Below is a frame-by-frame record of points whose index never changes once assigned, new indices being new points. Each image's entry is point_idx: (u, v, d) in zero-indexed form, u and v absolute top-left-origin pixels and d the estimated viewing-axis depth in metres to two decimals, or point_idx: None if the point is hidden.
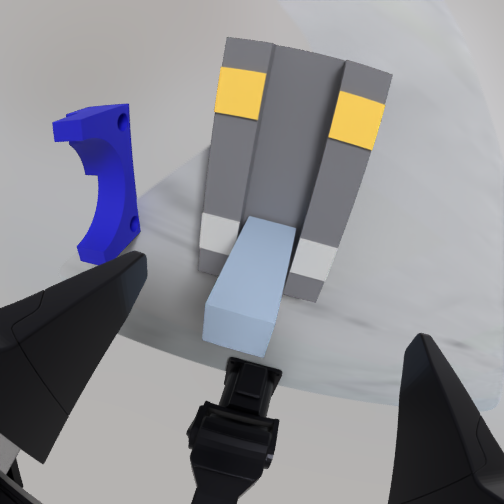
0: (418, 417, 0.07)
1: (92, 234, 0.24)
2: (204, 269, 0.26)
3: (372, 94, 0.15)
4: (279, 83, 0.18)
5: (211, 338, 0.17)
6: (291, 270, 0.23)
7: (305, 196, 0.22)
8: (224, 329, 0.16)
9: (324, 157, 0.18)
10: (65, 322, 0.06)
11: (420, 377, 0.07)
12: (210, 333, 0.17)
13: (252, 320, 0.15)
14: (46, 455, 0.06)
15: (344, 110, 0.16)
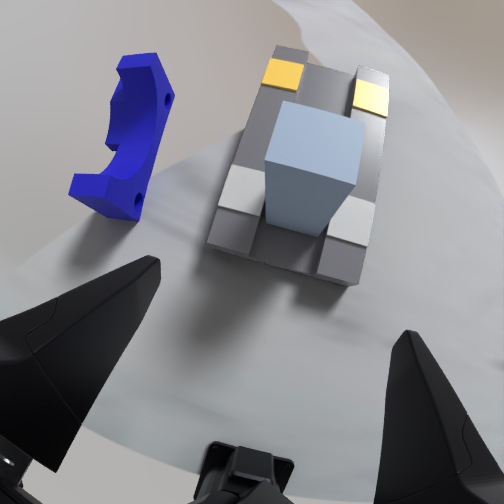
0: (403, 415, 0.07)
1: None
2: (215, 240, 0.20)
3: (378, 84, 0.21)
4: (309, 83, 0.23)
5: (280, 153, 0.12)
6: (328, 232, 0.19)
7: None
8: (302, 135, 0.12)
9: None
10: (81, 330, 0.06)
11: (406, 374, 0.07)
12: (279, 145, 0.12)
13: (339, 118, 0.12)
14: (59, 464, 0.06)
15: (361, 90, 0.21)
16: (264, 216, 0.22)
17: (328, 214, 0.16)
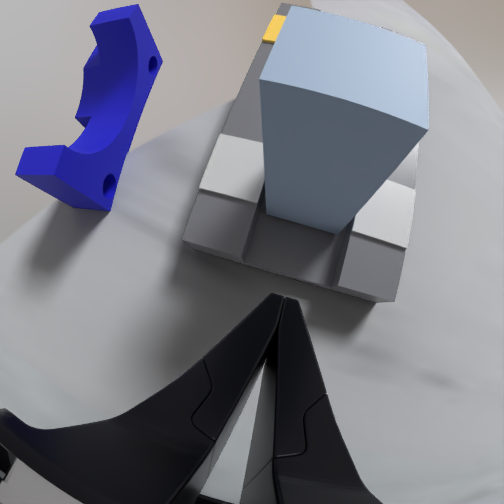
0: (265, 387, 0.07)
1: None
2: (194, 236, 0.14)
3: None
4: None
5: (288, 69, 0.06)
6: (355, 227, 0.13)
7: None
8: (327, 46, 0.06)
9: None
10: (243, 395, 0.06)
11: (273, 343, 0.08)
12: (288, 58, 0.06)
13: (384, 33, 0.06)
14: None
15: None
16: (264, 205, 0.16)
17: (363, 196, 0.10)
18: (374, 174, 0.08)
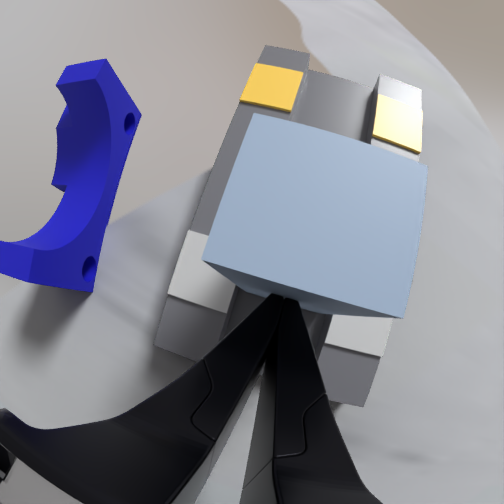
0: (265, 387, 0.07)
1: (26, 242, 0.13)
2: (165, 343, 0.13)
3: (408, 102, 0.15)
4: (310, 99, 0.17)
5: (237, 243, 0.05)
6: (327, 339, 0.13)
7: None
8: (293, 195, 0.05)
9: None
10: (243, 395, 0.06)
11: (273, 343, 0.08)
12: (238, 221, 0.05)
13: (374, 155, 0.05)
14: None
15: (385, 110, 0.15)
16: (237, 304, 0.15)
17: (337, 313, 0.09)
18: (346, 312, 0.08)
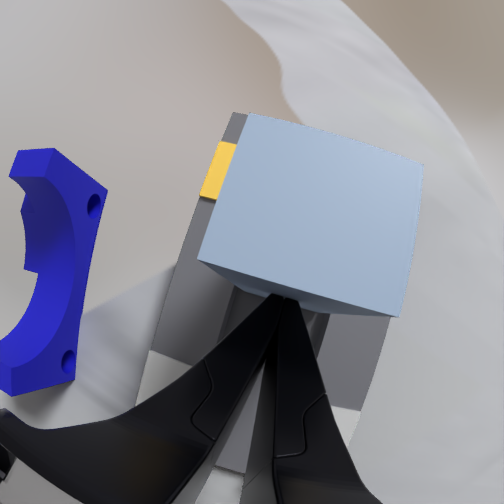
0: (265, 387, 0.07)
1: (5, 345, 0.12)
2: None
3: None
4: None
5: (232, 242, 0.05)
6: None
7: None
8: (288, 194, 0.05)
9: None
10: (243, 395, 0.06)
11: (273, 343, 0.08)
12: (234, 220, 0.05)
13: (370, 154, 0.05)
14: None
15: None
16: None
17: (335, 312, 0.09)
18: (343, 311, 0.08)
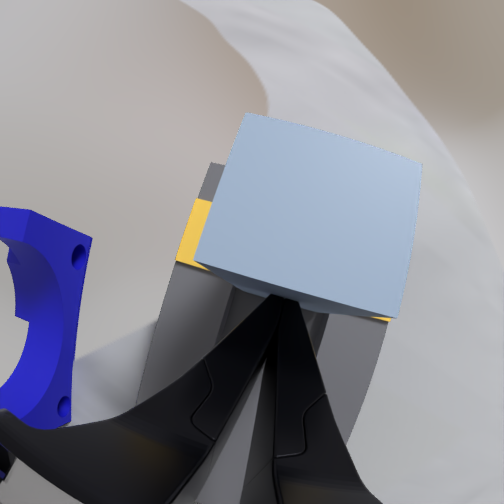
0: (265, 387, 0.07)
1: (3, 395, 0.12)
2: None
3: None
4: None
5: (229, 243, 0.05)
6: None
7: None
8: (285, 194, 0.05)
9: (324, 337, 0.13)
10: (243, 395, 0.06)
11: (273, 343, 0.08)
12: (230, 221, 0.05)
13: (367, 153, 0.05)
14: None
15: None
16: None
17: (333, 312, 0.09)
18: (341, 311, 0.07)
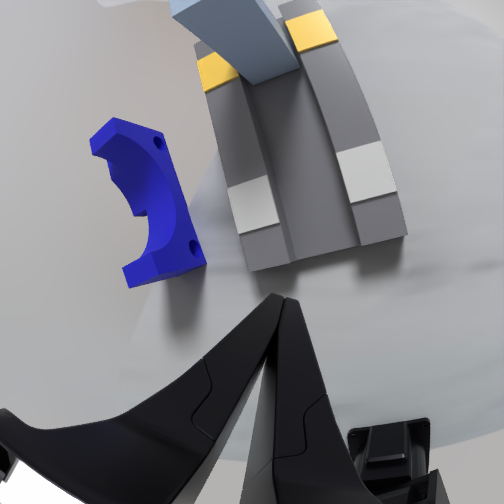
0: (265, 387, 0.07)
1: None
2: (255, 266, 0.20)
3: (308, 10, 0.16)
4: None
5: (179, 6, 0.11)
6: (351, 199, 0.17)
7: (322, 124, 0.19)
8: None
9: (307, 68, 0.17)
10: (243, 395, 0.06)
11: (273, 343, 0.08)
12: (176, 3, 0.11)
13: None
14: None
15: (296, 29, 0.17)
16: (287, 214, 0.20)
17: (269, 29, 0.14)
18: (255, 14, 0.12)
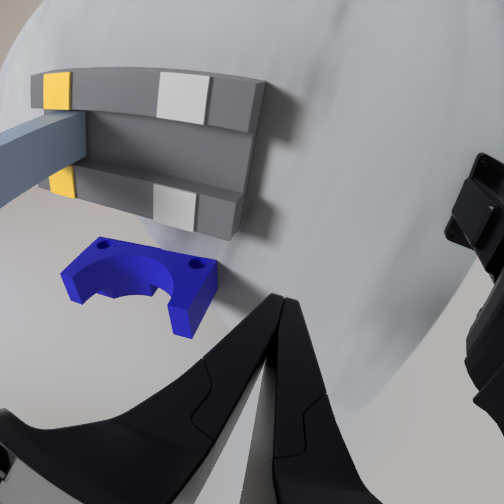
0: (265, 387, 0.07)
1: None
2: (226, 233, 0.20)
3: (41, 85, 0.16)
4: None
5: None
6: (200, 122, 0.16)
7: (137, 113, 0.18)
8: None
9: (83, 108, 0.17)
10: (243, 395, 0.06)
11: (273, 343, 0.08)
12: None
13: None
14: None
15: (52, 102, 0.17)
16: (199, 180, 0.20)
17: (32, 135, 0.14)
18: (12, 146, 0.13)
